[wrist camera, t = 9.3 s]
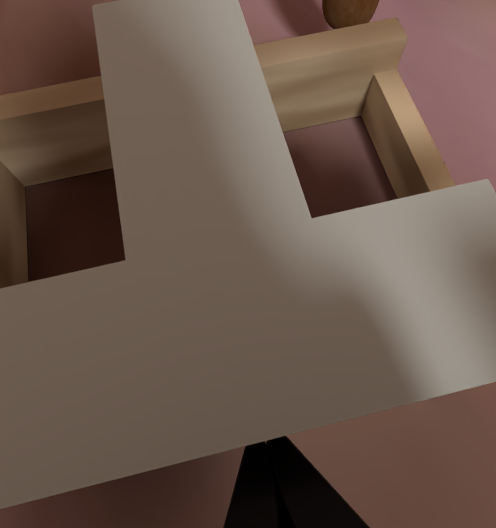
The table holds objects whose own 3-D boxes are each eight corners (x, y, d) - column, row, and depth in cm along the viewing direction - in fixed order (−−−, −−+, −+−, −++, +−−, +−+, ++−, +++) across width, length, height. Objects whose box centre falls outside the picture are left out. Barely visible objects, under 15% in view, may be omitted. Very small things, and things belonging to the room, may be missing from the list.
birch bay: (494, 356, 15) (567, 331, 12) (5, 480, 14) (-85, 495, 11) (372, 93, 20) (396, 17, 17) (3, 170, 19) (-58, 107, 16)
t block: (426, 396, 15) (585, 357, 8) (94, 482, 14) (-86, 530, 7) (325, 136, 20) (364, -46, 12) (70, 191, 19) (-53, 32, 11)
